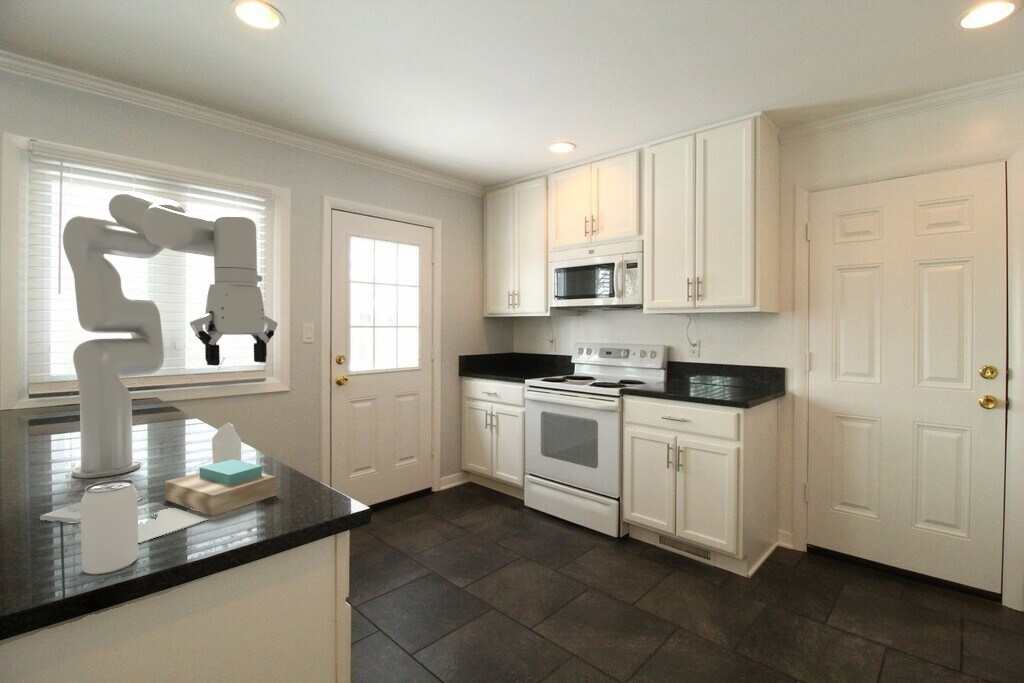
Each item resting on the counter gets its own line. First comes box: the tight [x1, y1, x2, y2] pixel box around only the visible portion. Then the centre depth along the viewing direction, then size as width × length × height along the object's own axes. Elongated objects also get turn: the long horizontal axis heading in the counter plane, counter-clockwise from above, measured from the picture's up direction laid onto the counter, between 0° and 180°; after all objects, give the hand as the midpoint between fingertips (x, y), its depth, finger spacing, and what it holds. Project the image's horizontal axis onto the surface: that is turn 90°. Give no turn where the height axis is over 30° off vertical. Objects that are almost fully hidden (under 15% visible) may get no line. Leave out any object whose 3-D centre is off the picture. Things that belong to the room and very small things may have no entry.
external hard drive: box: [39, 493, 143, 524], centre depth 93 cm, size 2×8×12 cm
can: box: [80, 478, 139, 576], centre depth 72 cm, size 6×6×12 cm
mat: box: [138, 507, 209, 544], centre depth 88 cm, size 18×11×1 cm, turn 62°
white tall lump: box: [211, 422, 242, 464], centre depth 116 cm, size 6×12×6 cm
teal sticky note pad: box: [199, 459, 263, 485], centre depth 102 cm, size 10×7×2 cm
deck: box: [164, 472, 276, 517], centre depth 100 cm, size 16×13×4 cm
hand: (237, 363), depth 99 cm, fingers open, 9 cm apart
